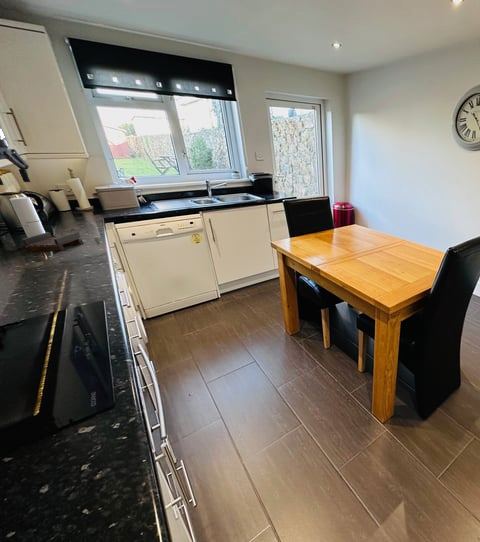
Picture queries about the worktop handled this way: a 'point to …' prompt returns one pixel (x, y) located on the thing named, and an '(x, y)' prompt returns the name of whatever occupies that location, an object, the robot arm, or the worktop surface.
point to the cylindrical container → (27, 216)
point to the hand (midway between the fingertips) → (14, 183)
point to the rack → (51, 242)
